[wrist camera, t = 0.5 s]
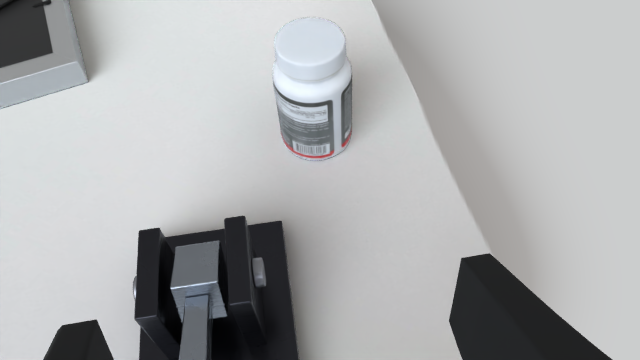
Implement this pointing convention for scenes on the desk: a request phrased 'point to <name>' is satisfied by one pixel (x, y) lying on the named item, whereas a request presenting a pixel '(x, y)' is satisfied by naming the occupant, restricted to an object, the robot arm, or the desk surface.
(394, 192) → the desk surface
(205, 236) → the bracket
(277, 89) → the pill bottle
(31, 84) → the picture frame
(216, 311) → the tap lever
